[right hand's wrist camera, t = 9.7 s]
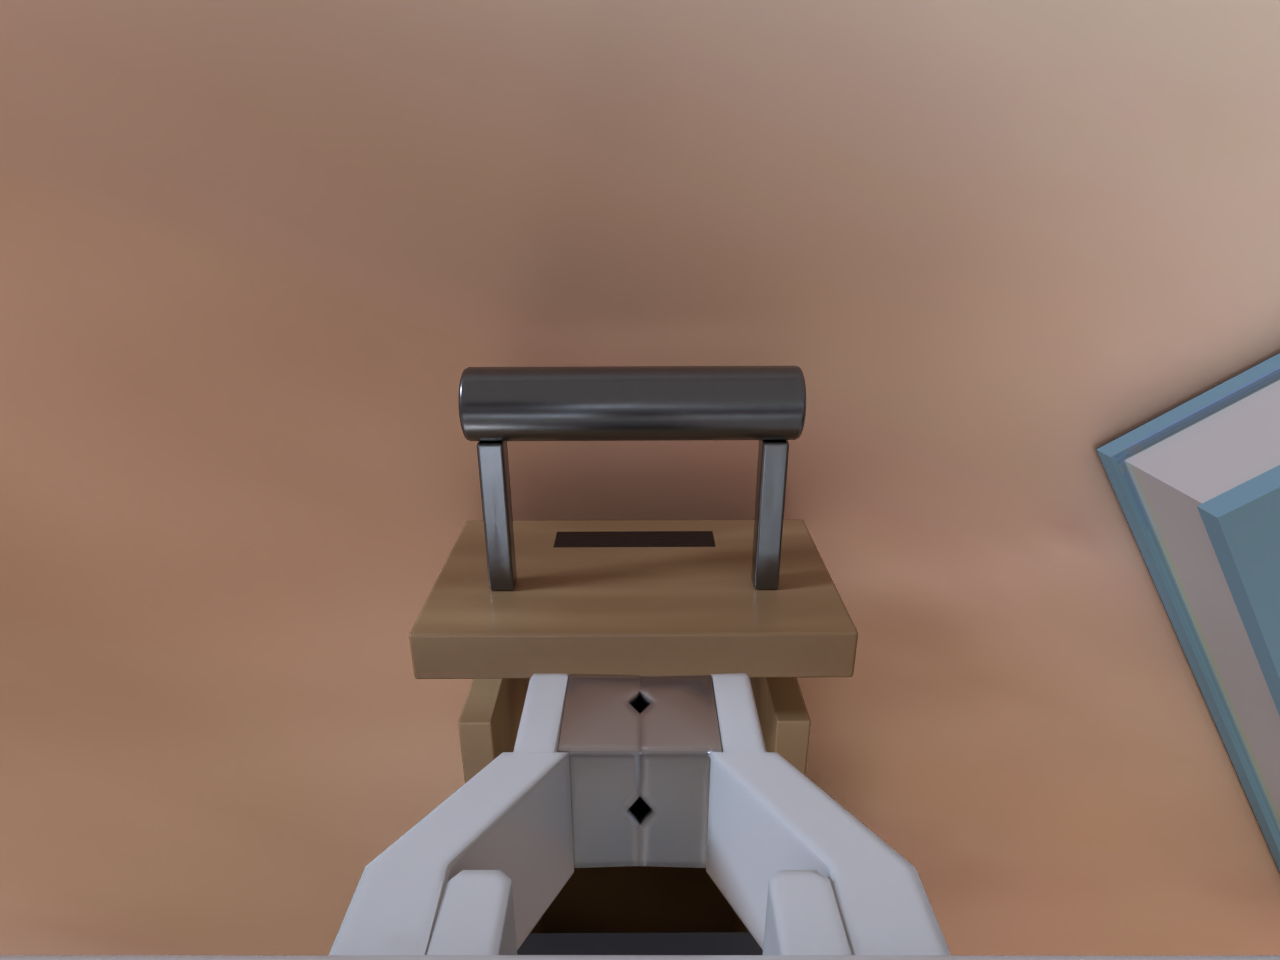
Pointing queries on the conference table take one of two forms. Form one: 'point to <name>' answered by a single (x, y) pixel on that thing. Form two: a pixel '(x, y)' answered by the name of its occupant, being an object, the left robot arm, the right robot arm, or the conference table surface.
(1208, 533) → the book
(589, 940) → the dark boxy piece
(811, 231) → the conference table surface
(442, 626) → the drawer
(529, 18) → the conference table surface
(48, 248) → the conference table surface
